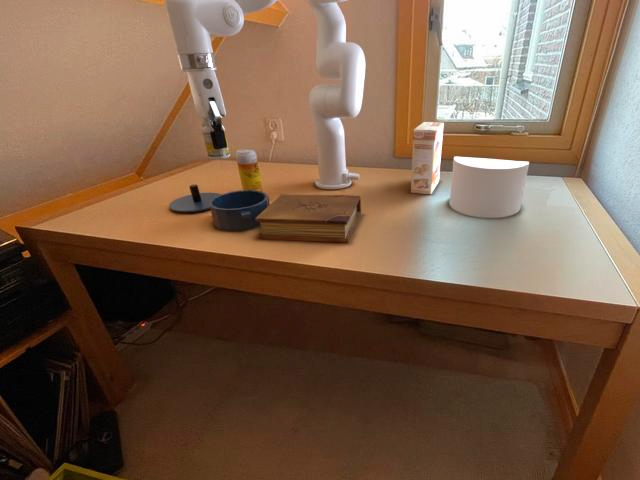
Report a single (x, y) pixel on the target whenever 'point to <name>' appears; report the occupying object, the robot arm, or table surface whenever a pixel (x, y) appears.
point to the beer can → (249, 169)
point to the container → (487, 186)
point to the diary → (310, 218)
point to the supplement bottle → (212, 153)
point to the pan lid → (193, 201)
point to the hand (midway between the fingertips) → (217, 145)
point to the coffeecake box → (426, 157)
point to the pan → (238, 209)
